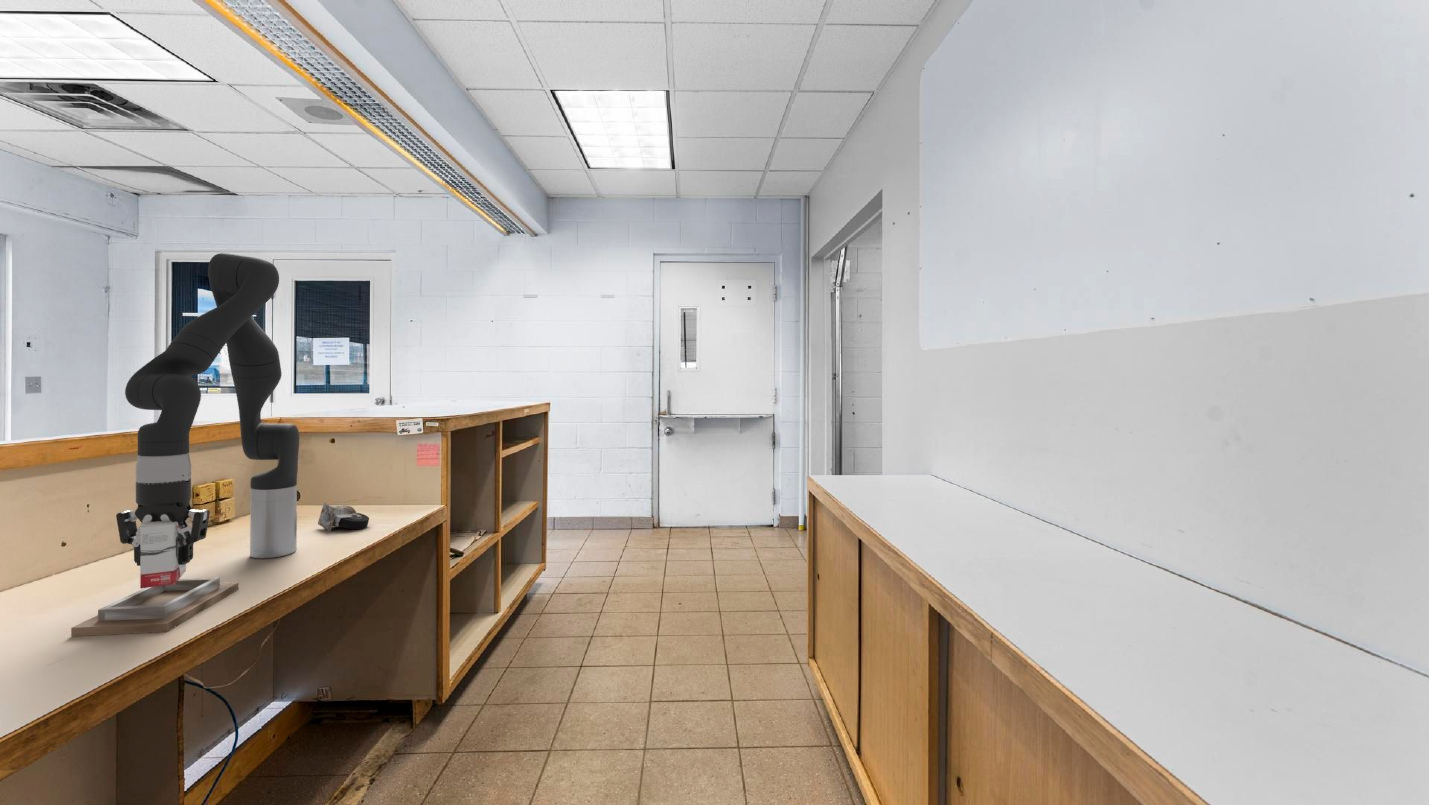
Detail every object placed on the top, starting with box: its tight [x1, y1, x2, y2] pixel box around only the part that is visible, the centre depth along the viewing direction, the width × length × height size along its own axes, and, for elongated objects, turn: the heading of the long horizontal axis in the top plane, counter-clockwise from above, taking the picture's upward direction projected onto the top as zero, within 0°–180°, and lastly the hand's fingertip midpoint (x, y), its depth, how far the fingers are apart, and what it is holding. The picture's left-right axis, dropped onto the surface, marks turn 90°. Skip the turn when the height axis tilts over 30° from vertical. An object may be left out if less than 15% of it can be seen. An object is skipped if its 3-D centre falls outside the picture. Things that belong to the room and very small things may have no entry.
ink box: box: [139, 521, 187, 590], centre depth 106 cm, size 9×5×12 cm, turn 33°
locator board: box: [70, 577, 240, 637], centre depth 107 cm, size 20×14×4 cm
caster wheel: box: [317, 502, 370, 532], centre depth 166 cm, size 7×11×10 cm
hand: (164, 563), depth 106 cm, fingers closed on ink box, 6 cm apart
